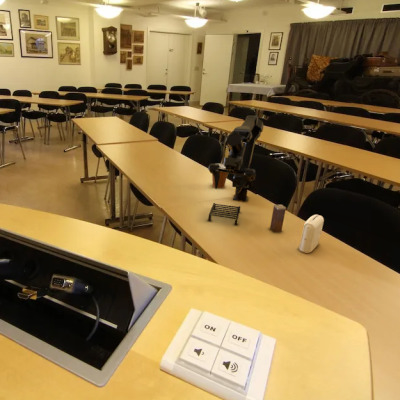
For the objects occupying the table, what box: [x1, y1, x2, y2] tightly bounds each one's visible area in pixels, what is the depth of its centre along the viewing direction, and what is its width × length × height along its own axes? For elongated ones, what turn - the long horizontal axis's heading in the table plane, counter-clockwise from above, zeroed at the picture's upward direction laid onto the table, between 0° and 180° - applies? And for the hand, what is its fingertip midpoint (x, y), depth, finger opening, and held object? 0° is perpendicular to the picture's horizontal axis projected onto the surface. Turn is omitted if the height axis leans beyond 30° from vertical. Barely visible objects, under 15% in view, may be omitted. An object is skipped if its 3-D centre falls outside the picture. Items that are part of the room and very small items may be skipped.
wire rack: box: [207, 202, 241, 226], centre depth 142 cm, size 14×12×3 cm
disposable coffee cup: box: [211, 163, 229, 189], centre depth 176 cm, size 10×10×12 cm
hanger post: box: [269, 204, 287, 233], centre depth 128 cm, size 3×3×11 cm
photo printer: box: [298, 214, 325, 254], centre depth 115 cm, size 10×4×12 cm, turn 133°
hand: (226, 190), depth 133 cm, fingers open, 9 cm apart
